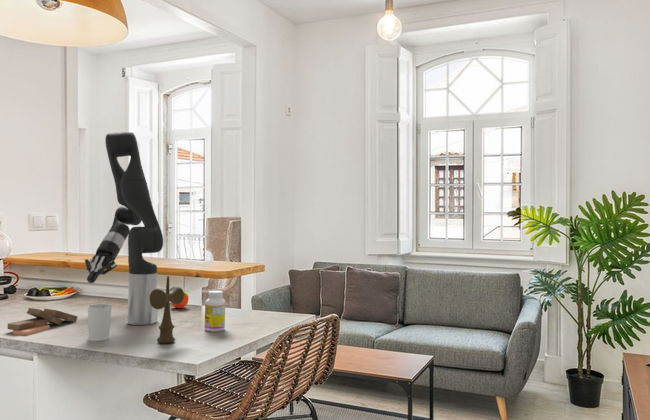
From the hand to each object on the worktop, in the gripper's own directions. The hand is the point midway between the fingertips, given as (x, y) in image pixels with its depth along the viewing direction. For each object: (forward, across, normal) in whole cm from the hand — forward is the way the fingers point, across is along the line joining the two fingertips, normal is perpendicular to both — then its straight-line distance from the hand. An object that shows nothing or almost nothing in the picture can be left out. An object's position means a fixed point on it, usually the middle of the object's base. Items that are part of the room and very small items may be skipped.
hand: (89, 281), depth 199 cm
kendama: (+28, +45, -10) cm, 54 cm away
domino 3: (+25, 0, -8) cm, 26 cm away
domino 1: (+20, 0, -4) cm, 20 cm away
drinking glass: (+29, +24, -12) cm, 40 cm away
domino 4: (+15, +1, 0) cm, 15 cm away
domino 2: (+23, -1, -9) cm, 25 cm away
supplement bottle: (+13, +52, +4) cm, 54 cm away
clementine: (-8, +24, +25) cm, 36 cm away
